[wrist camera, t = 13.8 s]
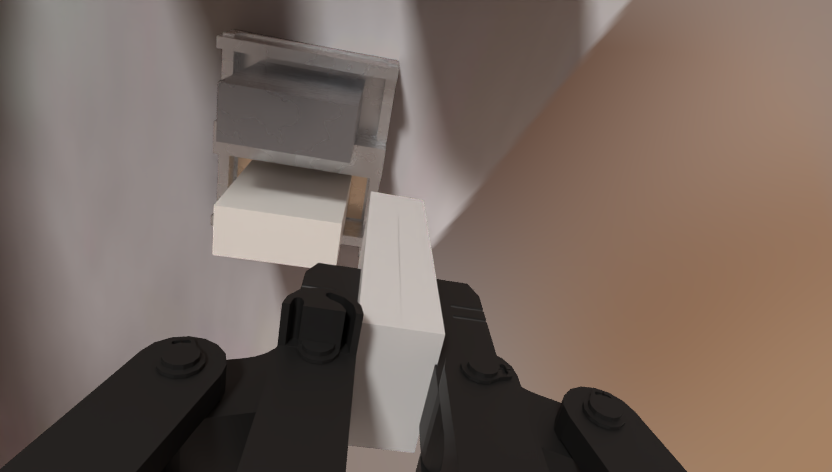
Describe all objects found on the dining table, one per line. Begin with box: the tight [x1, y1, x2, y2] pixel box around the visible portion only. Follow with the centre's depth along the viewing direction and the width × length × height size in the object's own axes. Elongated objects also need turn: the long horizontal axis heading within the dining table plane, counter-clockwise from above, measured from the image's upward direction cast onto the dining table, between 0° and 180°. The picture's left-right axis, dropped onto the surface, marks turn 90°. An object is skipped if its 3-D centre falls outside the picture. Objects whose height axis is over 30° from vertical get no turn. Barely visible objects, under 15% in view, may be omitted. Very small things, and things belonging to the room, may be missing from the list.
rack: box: [211, 30, 399, 257], centre depth 38 cm, size 13×16×12 cm
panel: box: [213, 159, 352, 268], centre depth 39 cm, size 8×4×11 cm, turn 80°
